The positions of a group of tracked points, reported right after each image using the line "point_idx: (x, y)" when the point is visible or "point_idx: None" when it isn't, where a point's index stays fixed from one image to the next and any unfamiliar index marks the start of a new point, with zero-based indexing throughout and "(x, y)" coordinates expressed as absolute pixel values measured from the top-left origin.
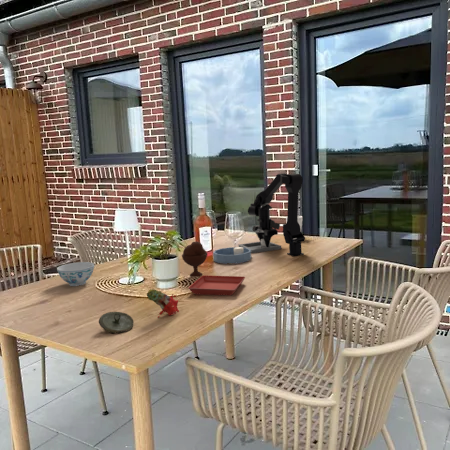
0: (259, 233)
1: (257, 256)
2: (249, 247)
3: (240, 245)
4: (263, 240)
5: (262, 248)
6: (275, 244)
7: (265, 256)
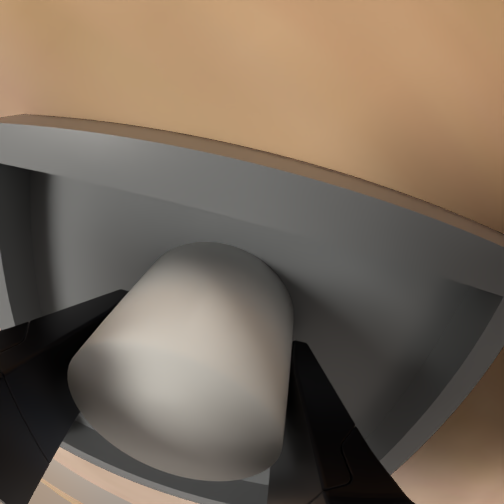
0: (10, 493)
1: (411, 493)
2: None
3: (84, 457)
4: (229, 476)
5: None
6: (399, 248)
7: (465, 469)
